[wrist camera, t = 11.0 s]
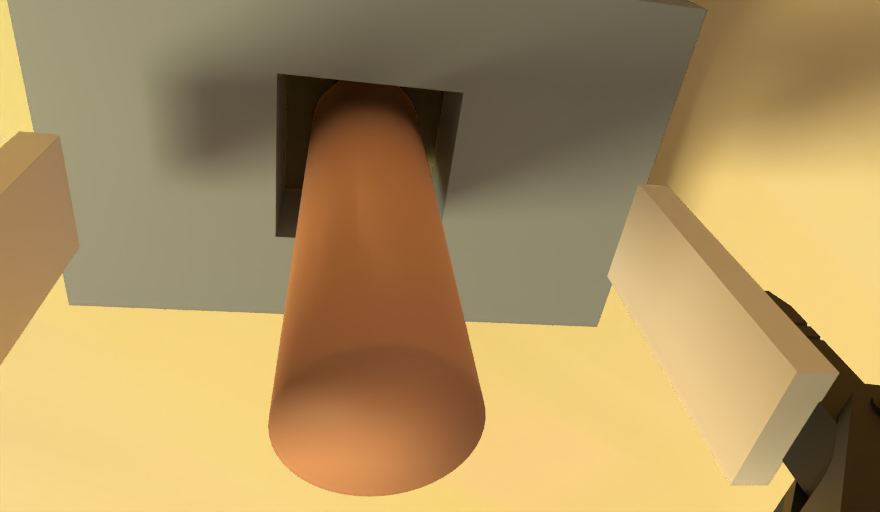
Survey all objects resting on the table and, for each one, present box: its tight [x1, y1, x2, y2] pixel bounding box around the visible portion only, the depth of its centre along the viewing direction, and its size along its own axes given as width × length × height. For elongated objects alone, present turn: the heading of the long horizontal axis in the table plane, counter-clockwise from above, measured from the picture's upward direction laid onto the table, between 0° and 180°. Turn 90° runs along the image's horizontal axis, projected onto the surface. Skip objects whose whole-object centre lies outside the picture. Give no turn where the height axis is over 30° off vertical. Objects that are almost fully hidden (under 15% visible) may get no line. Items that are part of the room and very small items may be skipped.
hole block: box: [7, 0, 707, 327], centre depth 18 cm, size 16×10×3 cm, turn 82°
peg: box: [268, 80, 485, 496], centre depth 14 cm, size 3×3×12 cm
